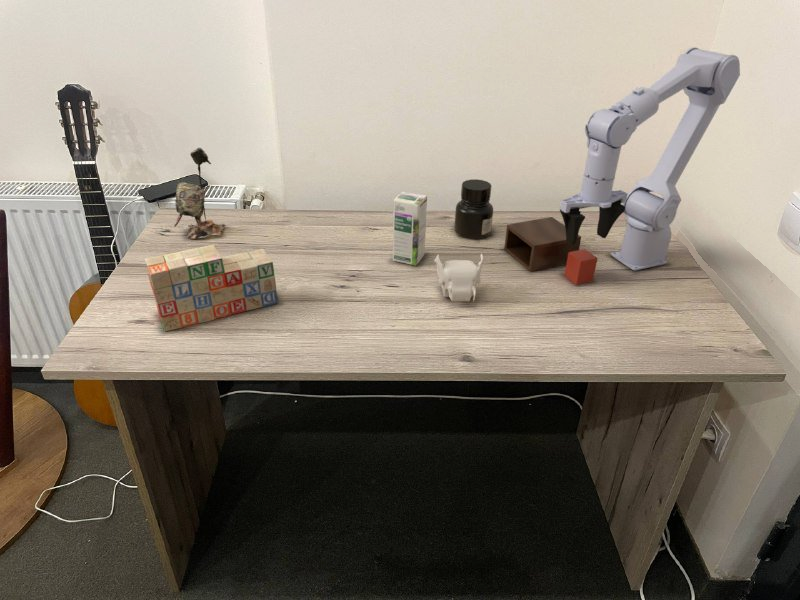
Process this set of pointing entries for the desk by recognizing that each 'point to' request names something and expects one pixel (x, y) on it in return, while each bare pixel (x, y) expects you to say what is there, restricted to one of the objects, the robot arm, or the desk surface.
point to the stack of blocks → (209, 284)
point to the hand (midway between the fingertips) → (586, 239)
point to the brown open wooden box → (539, 243)
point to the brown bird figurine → (195, 203)
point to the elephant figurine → (458, 278)
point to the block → (580, 266)
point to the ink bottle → (474, 210)
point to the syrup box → (409, 227)
